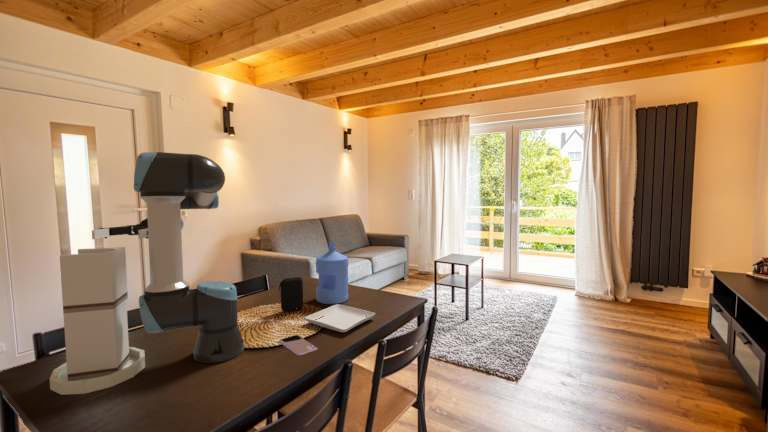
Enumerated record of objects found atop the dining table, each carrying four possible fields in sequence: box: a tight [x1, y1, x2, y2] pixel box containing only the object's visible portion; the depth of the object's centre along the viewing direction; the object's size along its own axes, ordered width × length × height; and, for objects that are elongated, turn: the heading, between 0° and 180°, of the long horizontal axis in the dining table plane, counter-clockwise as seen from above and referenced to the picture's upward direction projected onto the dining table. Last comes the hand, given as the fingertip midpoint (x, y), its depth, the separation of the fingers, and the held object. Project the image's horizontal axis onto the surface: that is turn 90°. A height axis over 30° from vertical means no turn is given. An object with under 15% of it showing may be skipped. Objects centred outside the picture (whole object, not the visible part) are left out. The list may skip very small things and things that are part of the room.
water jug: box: [315, 242, 349, 305], centre depth 170 cm, size 16×16×28 cm
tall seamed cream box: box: [59, 246, 131, 381], centre depth 102 cm, size 11×11×35 cm
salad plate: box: [304, 303, 376, 333], centre depth 143 cm, size 21×21×3 cm
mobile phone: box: [278, 334, 318, 357], centre depth 121 cm, size 8×1×15 cm
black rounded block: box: [278, 276, 304, 312], centre depth 155 cm, size 11×3×15 cm, turn 117°
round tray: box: [49, 346, 146, 396], centre depth 102 cm, size 21×21×3 cm
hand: (116, 234), depth 109 cm, fingers open, 13 cm apart
